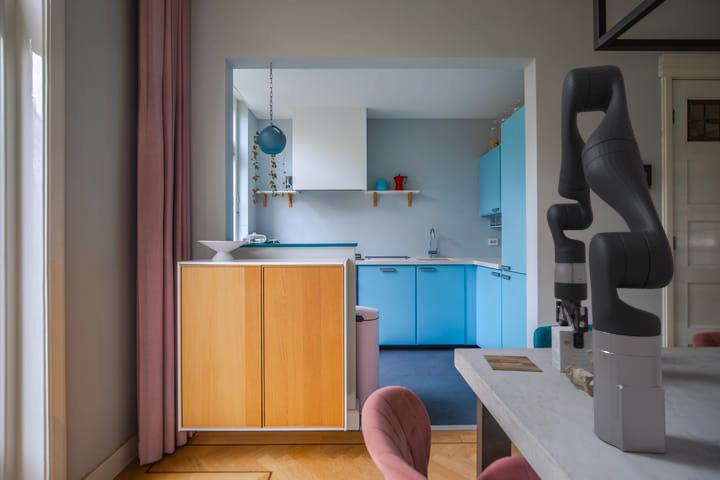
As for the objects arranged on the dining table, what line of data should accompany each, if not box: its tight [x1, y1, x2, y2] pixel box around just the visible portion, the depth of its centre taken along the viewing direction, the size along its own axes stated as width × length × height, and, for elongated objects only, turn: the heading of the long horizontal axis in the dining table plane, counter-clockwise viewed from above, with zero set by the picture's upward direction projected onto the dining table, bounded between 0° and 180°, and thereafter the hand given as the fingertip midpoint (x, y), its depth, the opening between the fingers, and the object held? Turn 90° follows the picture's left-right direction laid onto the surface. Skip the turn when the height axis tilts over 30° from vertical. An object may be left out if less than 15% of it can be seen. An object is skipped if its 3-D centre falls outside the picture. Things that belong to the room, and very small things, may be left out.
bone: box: [564, 350, 593, 396], centre depth 85 cm, size 9×6×10 cm
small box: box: [551, 325, 593, 374], centre depth 100 cm, size 8×6×10 cm
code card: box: [482, 354, 543, 373], centre depth 106 cm, size 14×12×1 cm
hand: (571, 344), depth 100 cm, fingers open, 8 cm apart
